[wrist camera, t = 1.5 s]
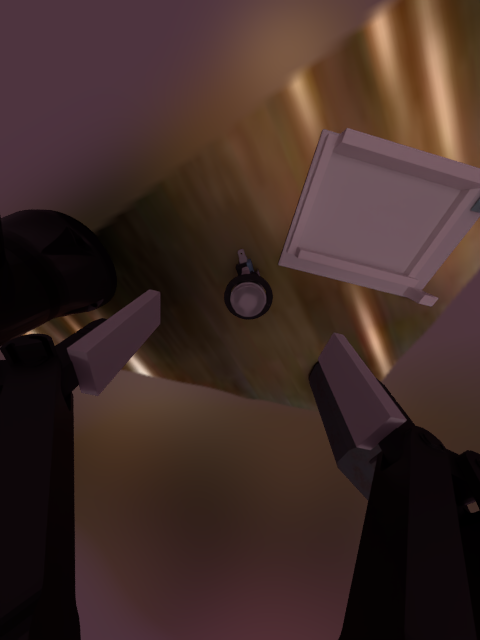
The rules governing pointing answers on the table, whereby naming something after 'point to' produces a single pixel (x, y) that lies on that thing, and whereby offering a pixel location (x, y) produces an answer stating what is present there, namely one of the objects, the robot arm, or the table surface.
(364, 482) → the bottle
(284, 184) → the table surface
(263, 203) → the table surface
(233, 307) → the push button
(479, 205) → the dark slender plank
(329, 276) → the tray
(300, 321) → the table surface
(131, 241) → the table surface
